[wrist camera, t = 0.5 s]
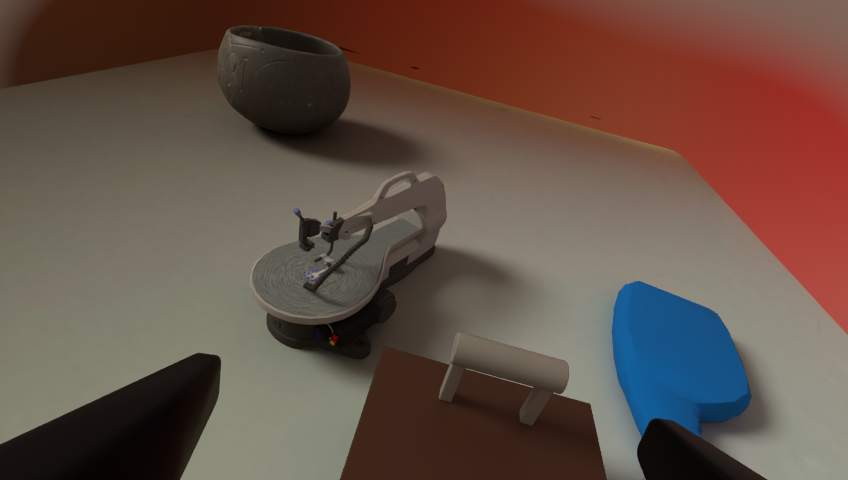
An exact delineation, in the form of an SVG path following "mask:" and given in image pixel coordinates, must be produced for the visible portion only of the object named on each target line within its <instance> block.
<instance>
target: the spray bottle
mask: <svg viewBox="0 0 848 480" xmlns="http://www.w3.org/2000/svg"><path fill="white" fill-rule="evenodd" d="M612 336H613V351H614V360H615V365H616V370H617V375H618V380H619V383H620V385H621V387H622V390H623V392H624V394H625V397H626V399H627V402H628V404H629V407H630V410H631V412H632V415H633V417H634V420H635V422H636V425H637V427H638V430H639V432H640V434H641V436H643V434H644V432H645V430H646V427H647V425H648V423H649V421H651V420H652V419H654V418H661V419H668V420H672V421H675V422H676V423H678V424H680V425H681V426H683V427H684V428H686V429H688V430H689V431H691V432H692V433H694V434H695V435H697V436H699V437H700V438H702V437H701V436H700V434H701V432H702V430H701V426H700V423H699V422H703V421H724V420H727V419H730V418H732V417H735V416H738V415H740V414H741V413H742V412H743V411H744V410H745V409H746V408H747V407H748V405H749V402H750V399H751V393H750V389H749V385H748V381H747V377H746V373H745V370H744V367H743V364H742V362H741V359H740V357H739V355H738V352H737V350H736V348H735V345H734V343H733V340H732V338H731V336H730V333H729V331H728V329H727V328H726V326H725V325H724V323H723V322H722V320H721V319H720V317H719V316H718V314H717V313H715V312H714V311H712V310H710V309H709V308H706V307H704V306H701V305H699V304H696V303H694V302H691V301H689V300H686V299H684V298H681V297H678V296H676V295H673V294H671V293H668V292H666V291H663V290H661V289H658V288H656V287H653V286H651V285H648V284H646V283H643V282H641V281H636V282H633V283H630V284H626V285H624V287H623V288H622V289H621V290H620V291H619V293H618V296H617V300H616V303H615V307H614V316H613V327H612Z"/></svg>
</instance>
